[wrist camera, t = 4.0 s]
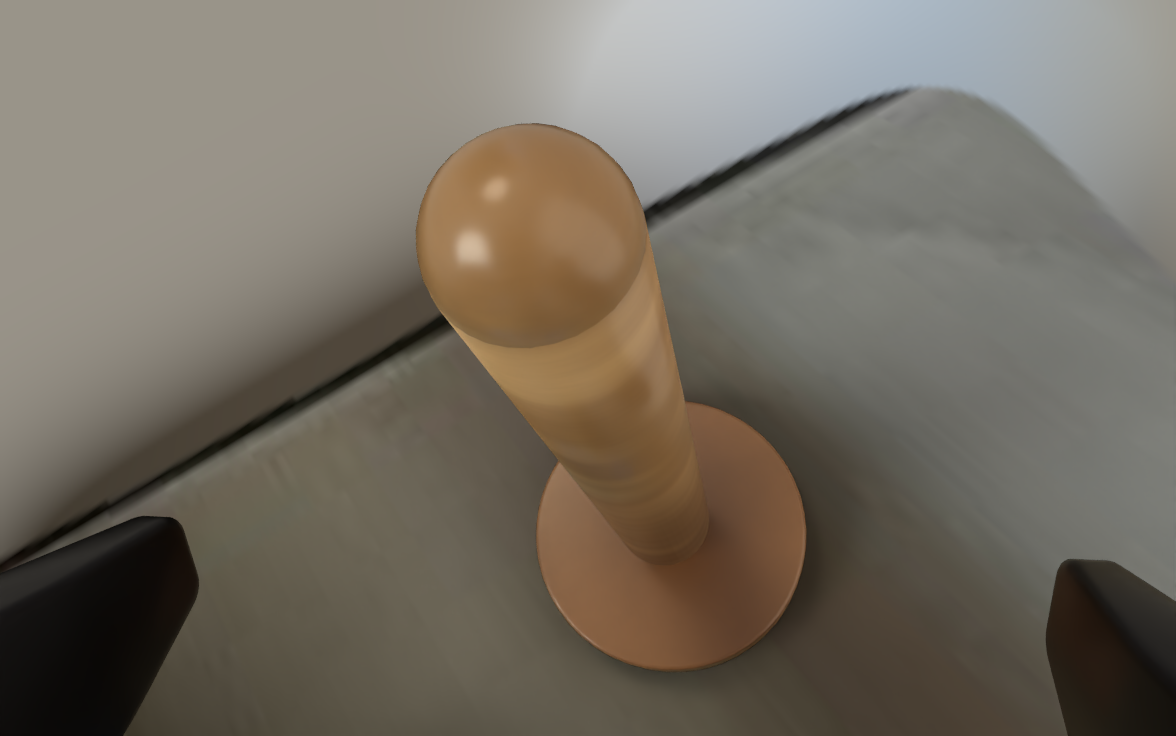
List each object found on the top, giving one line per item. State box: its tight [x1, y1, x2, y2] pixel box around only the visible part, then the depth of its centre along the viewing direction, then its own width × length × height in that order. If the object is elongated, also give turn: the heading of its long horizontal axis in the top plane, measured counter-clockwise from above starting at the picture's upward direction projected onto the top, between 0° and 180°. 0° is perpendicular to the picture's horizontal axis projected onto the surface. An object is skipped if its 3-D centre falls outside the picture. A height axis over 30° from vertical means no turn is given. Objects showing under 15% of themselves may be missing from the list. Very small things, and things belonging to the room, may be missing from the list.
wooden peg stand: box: [416, 123, 806, 672], centre depth 12 cm, size 6×6×14 cm
